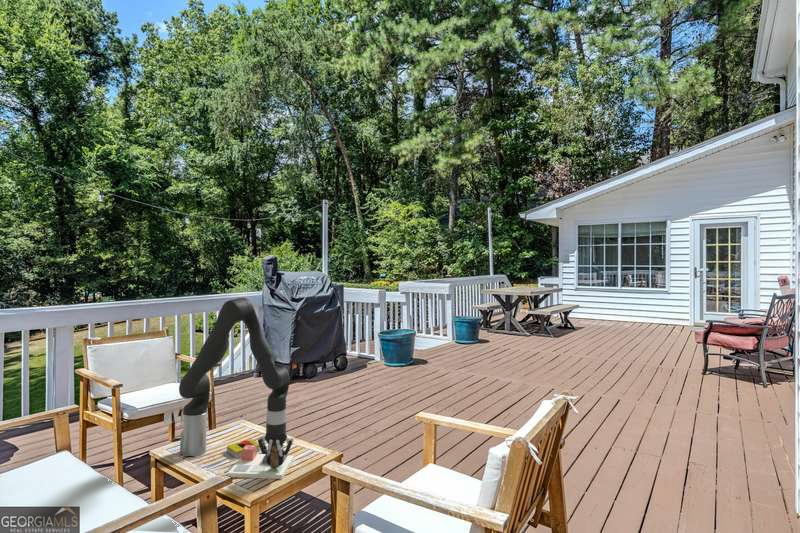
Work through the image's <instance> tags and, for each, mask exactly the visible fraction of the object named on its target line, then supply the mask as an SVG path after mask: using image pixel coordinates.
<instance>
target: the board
mask: <svg viewBox="0 0 800 533" xmlns="http://www.w3.org/2000/svg"><path fill="white" fill-rule="evenodd" d="M293 459H294V460H295V455H289V453H288V454H287V455H284V462H283V464H282V465H281V466H280V467H278V468H275V469H273V468H270V465H268V464H267V455H266V454H262V453H261V454H259V453H257V455H256V457H255V458H254V460H253V461H243V460H242V457H240V458H238V460H237V461H236V462H235V464H234V465H233V466H232V467H231V468H230V469H229V471H227V475H228V476H231V477H230V478H249V479H250V478H251V479H273V480H274V479H277V480H283V478H284V476H285V475H286V473H287V471H288V470H289V468H290V467H291V465H292V464H293V462H292V461H294V460H293ZM290 464H291V465H290ZM289 466H290V467H289Z"/></svg>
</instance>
